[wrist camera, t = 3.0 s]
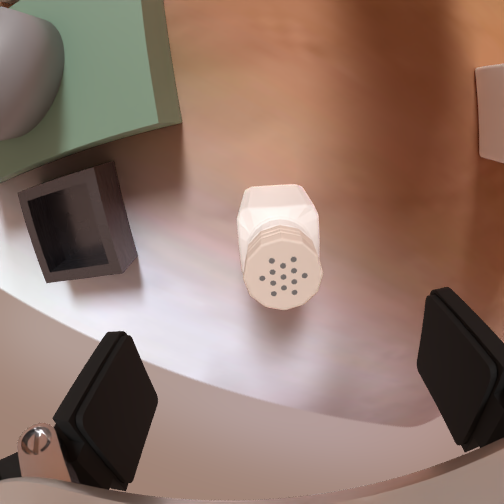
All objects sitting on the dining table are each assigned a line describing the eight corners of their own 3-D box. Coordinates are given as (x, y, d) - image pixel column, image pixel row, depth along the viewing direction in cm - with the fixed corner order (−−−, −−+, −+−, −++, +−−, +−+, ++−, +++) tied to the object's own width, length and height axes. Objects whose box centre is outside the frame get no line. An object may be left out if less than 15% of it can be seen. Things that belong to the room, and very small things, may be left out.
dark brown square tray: (113, 160, 20) (93, 167, 18) (137, 255, 23) (122, 273, 20) (40, 184, 21) (17, 193, 18) (65, 266, 24) (46, 282, 21)
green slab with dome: (159, -28, 15) (109, -89, 7) (182, 122, 19) (127, 123, 11) (-18, 63, 17) (-90, 63, 8) (-3, 184, 21) (-76, 215, 13)
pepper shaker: (303, 181, 21) (333, 225, 12) (305, 239, 22) (331, 315, 13) (242, 185, 21) (227, 232, 12) (247, 242, 22) (238, 321, 14)
